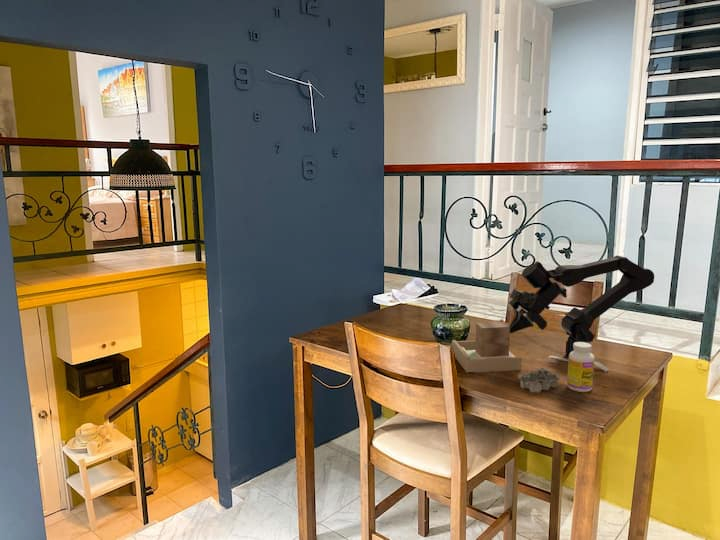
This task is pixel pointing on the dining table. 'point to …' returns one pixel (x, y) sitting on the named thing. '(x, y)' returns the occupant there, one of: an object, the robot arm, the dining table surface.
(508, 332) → the walnut block
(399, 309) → the dining table surface
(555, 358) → the fork
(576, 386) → the supplement bottle
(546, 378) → the egg carton
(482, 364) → the tray
